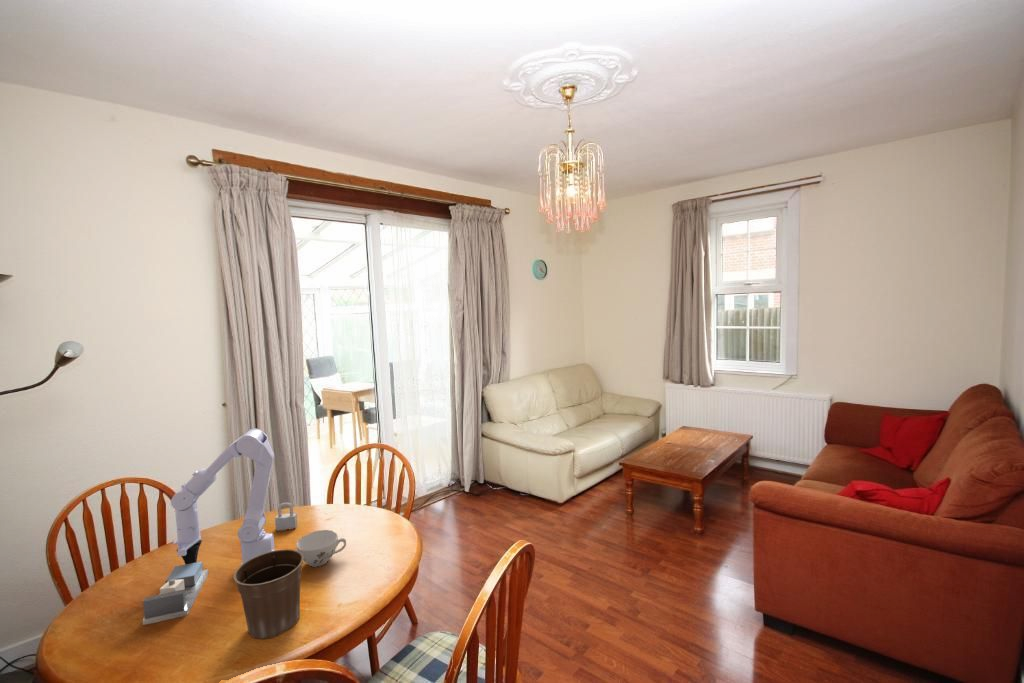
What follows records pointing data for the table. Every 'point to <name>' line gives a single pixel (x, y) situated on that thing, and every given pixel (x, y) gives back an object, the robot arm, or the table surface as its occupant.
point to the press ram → (186, 573)
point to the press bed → (189, 600)
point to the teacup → (319, 547)
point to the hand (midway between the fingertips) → (191, 566)
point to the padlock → (286, 518)
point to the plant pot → (270, 591)
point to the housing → (172, 586)
